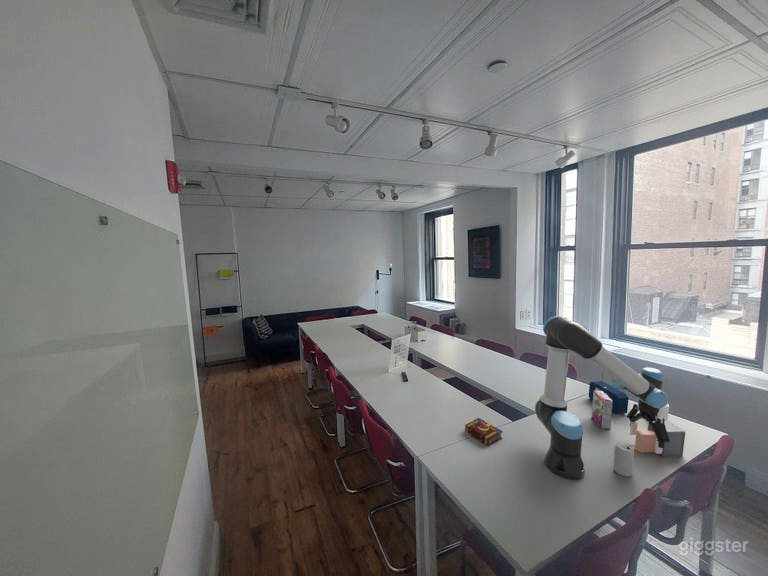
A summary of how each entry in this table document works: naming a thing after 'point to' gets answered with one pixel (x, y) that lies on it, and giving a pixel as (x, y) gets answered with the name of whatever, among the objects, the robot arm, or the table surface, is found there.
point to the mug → (664, 412)
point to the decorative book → (483, 431)
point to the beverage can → (623, 459)
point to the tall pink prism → (645, 441)
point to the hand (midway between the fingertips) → (645, 443)
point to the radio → (611, 396)
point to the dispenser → (672, 440)
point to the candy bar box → (602, 409)
